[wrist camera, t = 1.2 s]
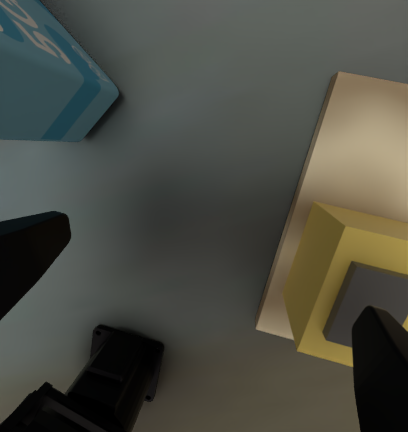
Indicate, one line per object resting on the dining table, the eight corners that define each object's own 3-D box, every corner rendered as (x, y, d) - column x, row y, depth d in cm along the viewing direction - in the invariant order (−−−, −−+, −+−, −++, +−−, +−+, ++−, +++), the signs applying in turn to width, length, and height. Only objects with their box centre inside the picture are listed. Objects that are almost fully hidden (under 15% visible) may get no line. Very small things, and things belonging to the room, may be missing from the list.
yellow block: (366, 316, 18) (425, 396, 12) (282, 293, 19) (299, 360, 13) (409, 223, 16) (503, 266, 10) (313, 201, 17) (351, 230, 11)
